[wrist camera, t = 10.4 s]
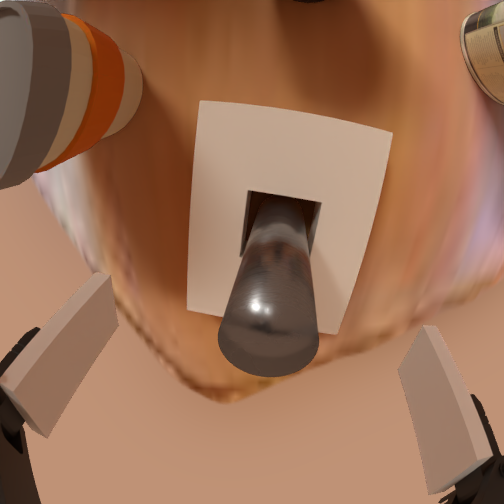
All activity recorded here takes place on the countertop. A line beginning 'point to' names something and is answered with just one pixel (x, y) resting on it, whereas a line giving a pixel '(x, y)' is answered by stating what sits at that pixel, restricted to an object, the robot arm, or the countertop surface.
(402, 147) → the countertop surface
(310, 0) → the coffee mug
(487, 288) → the countertop surface
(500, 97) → the coffee can
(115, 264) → the countertop surface
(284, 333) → the steel pin
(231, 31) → the countertop surface
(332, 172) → the block with square hole
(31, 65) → the reusable coffee cup
